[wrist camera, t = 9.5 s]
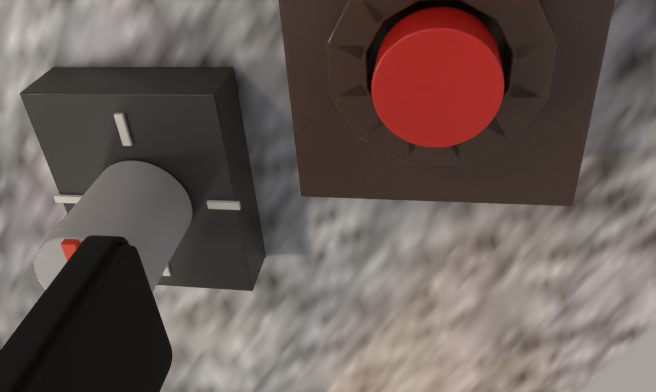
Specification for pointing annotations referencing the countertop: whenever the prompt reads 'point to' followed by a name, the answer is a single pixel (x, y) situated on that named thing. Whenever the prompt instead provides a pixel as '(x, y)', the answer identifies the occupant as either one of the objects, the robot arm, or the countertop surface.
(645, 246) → the countertop surface
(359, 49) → the power button base
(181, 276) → the knob
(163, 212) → the dial
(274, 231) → the countertop surface
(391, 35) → the power button
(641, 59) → the countertop surface
